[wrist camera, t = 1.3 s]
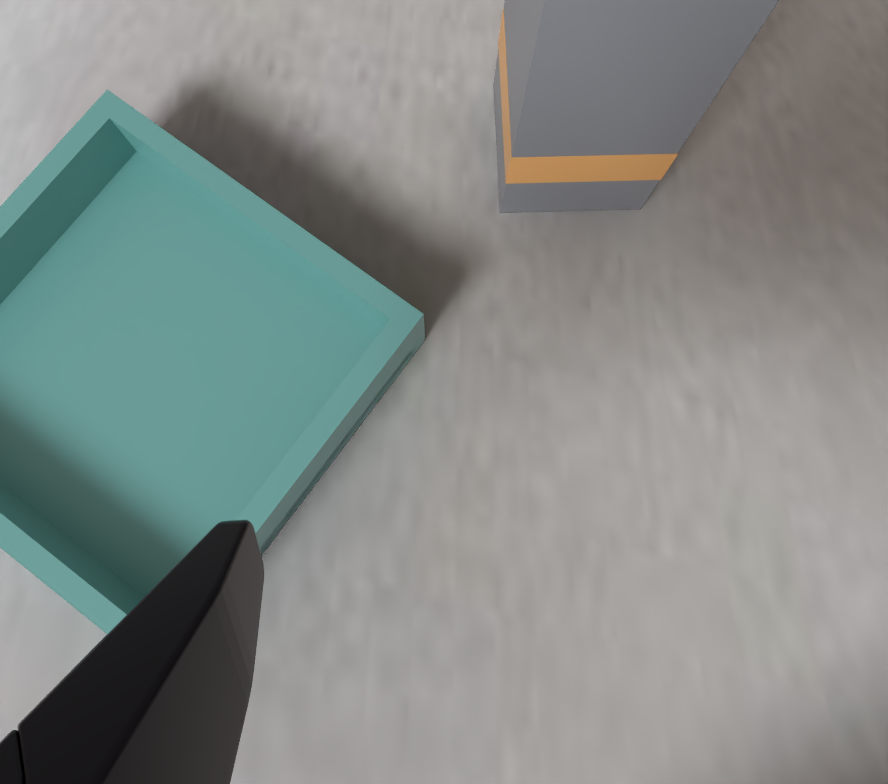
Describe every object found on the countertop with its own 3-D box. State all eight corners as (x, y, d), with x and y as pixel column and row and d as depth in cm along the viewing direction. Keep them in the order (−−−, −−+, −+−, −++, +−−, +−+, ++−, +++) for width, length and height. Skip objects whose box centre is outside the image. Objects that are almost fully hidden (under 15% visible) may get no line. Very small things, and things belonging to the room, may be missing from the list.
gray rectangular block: (641, 209, 25) (802, -34, 14) (499, 213, 24) (550, -30, 14) (629, 81, 25) (772, -242, 15) (492, 84, 25) (535, -239, 15)
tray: (425, 339, 24) (423, 314, 21) (189, 649, 22) (151, 669, 19) (146, 140, 25) (107, 89, 22) (-100, 417, 23) (-179, 402, 20)
